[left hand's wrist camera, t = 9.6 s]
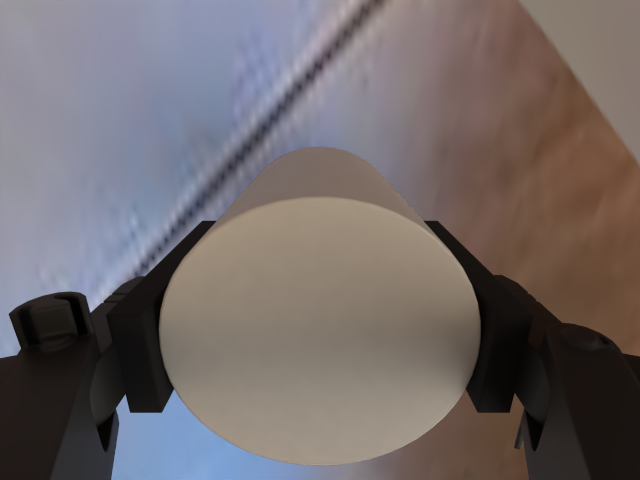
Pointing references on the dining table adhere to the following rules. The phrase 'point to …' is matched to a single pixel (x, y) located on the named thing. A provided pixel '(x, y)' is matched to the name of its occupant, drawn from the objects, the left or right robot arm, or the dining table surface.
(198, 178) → the dining table surface
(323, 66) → the dining table surface
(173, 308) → the canister
